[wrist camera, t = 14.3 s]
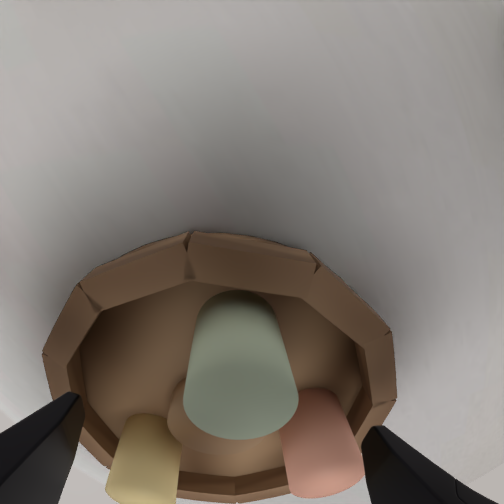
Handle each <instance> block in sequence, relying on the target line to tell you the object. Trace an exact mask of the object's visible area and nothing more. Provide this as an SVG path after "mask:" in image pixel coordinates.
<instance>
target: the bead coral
mask: <svg viewBox="0 0 504 504" xmlns="http://www.w3.org/2000/svg"><path fill="white" fill-rule="evenodd" d="M298 398H299V401H298V406H297V409H296V411H295V413H294V415H293V416H292V418H291V419H290V420H289V421H288V422H287V423H286V424H285V425H284V426H283V427H281V428H280V429H279V434H280V440H281V445H282V451H283V456H284V462H285V468H286V473H287V479H288V484H289V490H290V492H291V493H292V494H293V495H295V496H297V497H301V498H321V497H326V496H330V495H334V494H337V493H339V492H342V491H344V490H346V489H348V488H350V487H352V486H353V485H355V484H356V483H357V482H359V481H360V480H361V479H362V478H363V476H364V475H365V471H364V464H363V457H362V455H361V452H360V450H359V447H358V445H357V443H356V440H355V438H354V435H353V433H352V430H351V428H350V426H349V423H348V421H347V418H346V416H345V414H344V411H343V409H342V406H341V404H340V402H339V399H338V397H337V396H336V394H335V393H333V392H332V391H330V390H327V389H324V388H309V389H304V390H301V391H298Z"/></svg>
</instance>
